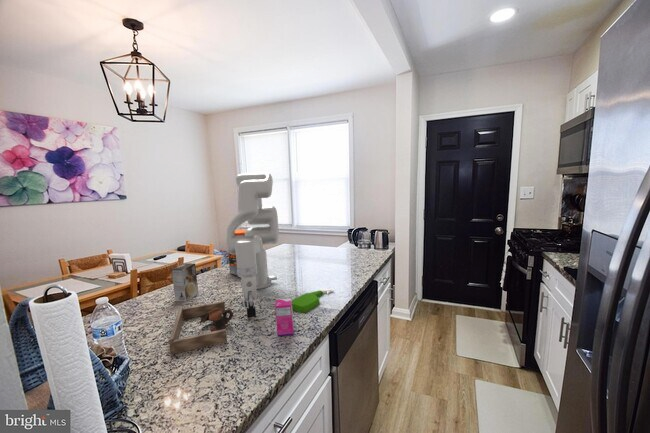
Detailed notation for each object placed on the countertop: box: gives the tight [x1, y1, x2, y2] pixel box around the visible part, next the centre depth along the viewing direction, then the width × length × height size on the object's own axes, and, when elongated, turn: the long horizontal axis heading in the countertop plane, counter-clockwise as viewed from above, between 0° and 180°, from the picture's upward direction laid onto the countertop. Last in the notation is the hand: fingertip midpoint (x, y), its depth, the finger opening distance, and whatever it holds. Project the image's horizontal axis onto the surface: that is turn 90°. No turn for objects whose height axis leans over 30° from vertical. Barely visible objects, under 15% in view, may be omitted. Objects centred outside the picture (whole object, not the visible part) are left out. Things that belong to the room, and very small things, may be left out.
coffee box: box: [171, 262, 199, 302], centre depth 132 cm, size 9×6×16 cm
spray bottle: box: [292, 287, 335, 313], centre depth 124 cm, size 3×11×24 cm
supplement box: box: [274, 297, 295, 337], centre depth 97 cm, size 6×6×12 cm
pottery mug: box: [199, 308, 234, 332], centre depth 104 cm, size 12×10×8 cm
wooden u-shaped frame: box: [168, 300, 228, 355], centre depth 102 cm, size 17×26×5 cm, turn 22°
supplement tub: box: [227, 229, 247, 276], centre depth 169 cm, size 16×16×26 cm
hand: (250, 311), depth 109 cm, fingers open, 9 cm apart
